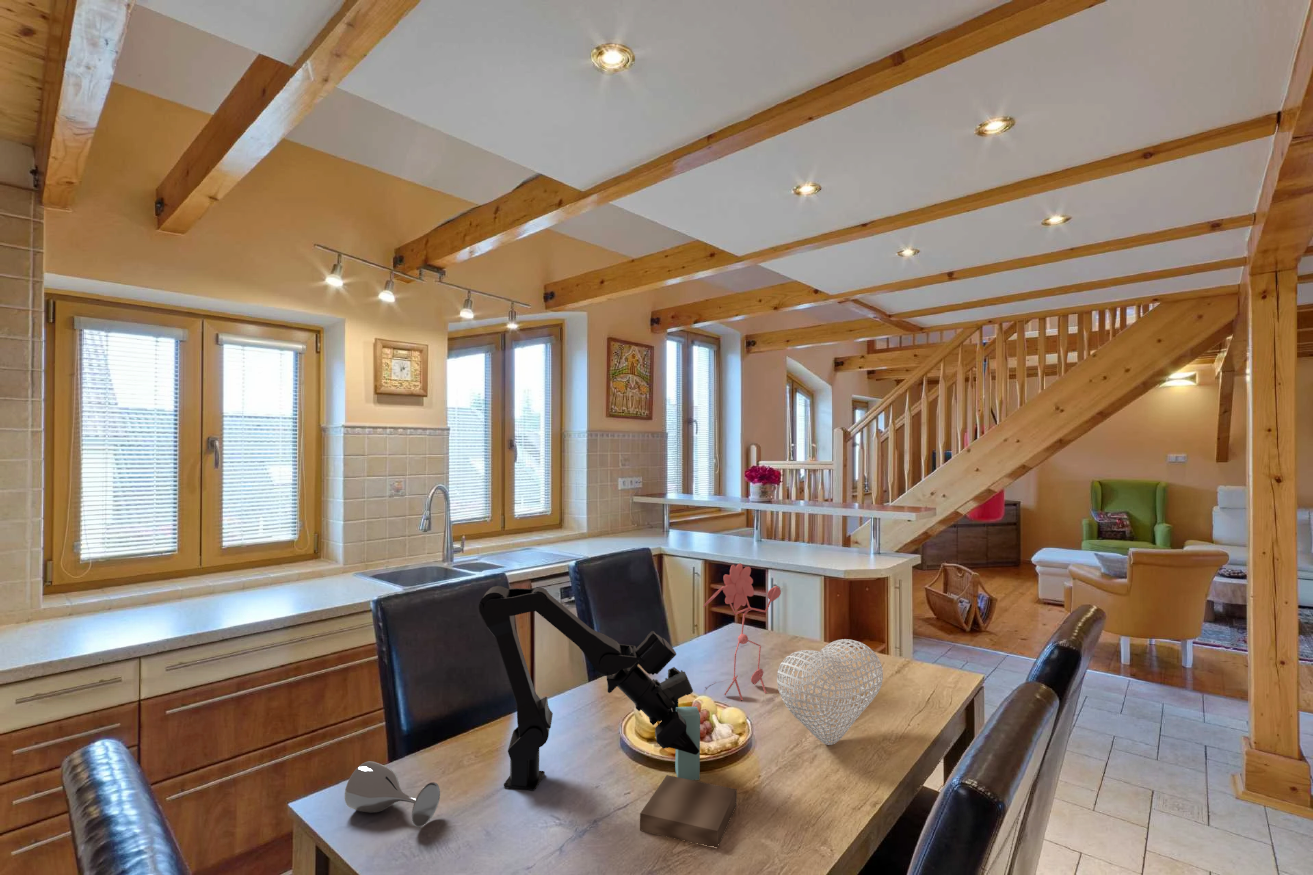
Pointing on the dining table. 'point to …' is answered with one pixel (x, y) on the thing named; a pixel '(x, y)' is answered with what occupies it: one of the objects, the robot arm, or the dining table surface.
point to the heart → (827, 655)
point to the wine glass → (388, 793)
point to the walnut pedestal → (689, 811)
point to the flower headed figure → (737, 593)
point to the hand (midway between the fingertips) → (694, 742)
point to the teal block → (685, 761)
